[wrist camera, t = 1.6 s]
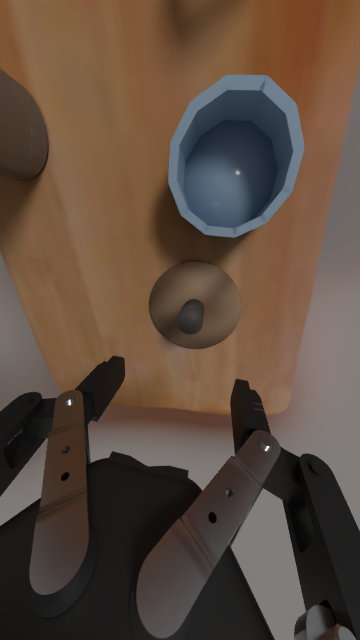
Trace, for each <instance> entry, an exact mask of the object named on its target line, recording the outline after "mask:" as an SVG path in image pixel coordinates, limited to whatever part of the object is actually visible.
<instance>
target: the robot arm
mask: <svg viewBox="0 0 360 640" xmlns="http://www.w3.org/2000/svg"><path fill="white" fill-rule="evenodd" d="M47 152H48V137H47V130H46V126H45V123H44V119H43V116H42V114H41V112H40V110H39V107H38V106H37V104H36V102H35V101H34V99H33V98H32V96H31V95H30V94H29V93H28V92H27V90H26V89H25V88H24V87H22V86H21V85H20V84H19V83H18V82H16V81H15V80H14V79H13V78H11V77H10V76H9V75H8V74H7V73H5V72H4V71H3V70H2V69H0V174H2V175H5V176H8V177H11V178H15V179H19V180H28V179H31V178H33V177H35V176H36V175H37V174H39V173H40V171H41V170H42V168H43V167H44V164H45V161H46V158H47ZM124 378H125V360H124V358H123V357H118V356H112V357H111V358H110V360H109V361H108V362H106V361H104V362H103V363H101V364H99V365H98V366H97V367H96V368H95V369H94V370H93V371H92V372H91V373H90V374H89V375H88V376H87V377H86V378H85V379H84V380H83V381H82V382H81V383H80V385H79V386H78V387H77V388H76V389H75V390H71V391H67V392H65V393H63V394H61V395H60V396H59V397H58V398H50V399H42V396H41V394H40V393H38V392H29V393H26V394H23V395H21V396H19V397H17V398H16V399H15V400H13V401H12V402H11V403H10V404H9V405H8V406H6V407H5V408H4V409H3V410H2V411H0V496H1V495H2V494H3V492H4V491H5V490H6V489H7V487H8V486H9V485H10V484H11V482H12V481H13V480H14V479H15V477H16V476H17V475H18V473H19V472H20V471H21V470H22V468H23V467H24V466H25V464H26V463H27V462H28V461H29V459H30V458H31V457H32V456H33V454H34V453H35V452H36V451H37V449H38V448H39V447H40V446H41V444H42V443H43V442H44V440H45V439H46V438H48V443H47V451H46V460H45V469H44V477H43V485H42V494H41V498H40V499H38V500H37V501H35V502H34V503H32V504H31V505H30V506H28V507H27V508H25V509H24V510H22V511H21V512H20V513H18V514H17V515H15V516H14V517H13V518H11V519H10V520H8V521H7V522H5V523H4V524H3V525H1V526H0V640H275V639H274V637H273V635H272V633H271V631H270V629H269V627H268V625H267V623H266V620H265V618H264V616H263V614H262V612H261V610H260V608H259V606H258V604H257V602H256V599H255V598H254V595H253V593H252V591H251V589H250V587H249V585H248V583H247V580H246V578H245V576H244V574H243V572H242V570H241V568H240V566H239V564H238V561H237V559H236V557H235V555H234V553H233V551H232V549H231V546H232V544H233V542H234V540H235V538H236V536H237V534H238V533H239V531H240V529H241V527H242V525H243V523H244V522H245V520H246V518H247V516H248V514H249V512H250V510H251V509H252V507H253V505H254V503H255V501H256V500H257V498H258V496H259V494H260V492H261V491H262V489H263V488H264V489H266V490H267V491H269V492H270V493H272V494H274V495H276V496H277V497H279V498H280V499H282V500H283V505H284V509H285V514H286V519H287V524H288V529H289V533H290V538H291V543H292V547H293V552H294V557H295V562H296V566H297V571H298V576H299V581H300V585H301V590H302V595H303V599H304V604H305V609H306V612H305V613H304V614H302V615H301V616H300V617H299V618H298V619H297V621H296V624H295V629H294V640H360V531H359V529H358V526H357V524H356V522H355V520H354V518H353V516H352V513H351V511H350V509H349V507H348V505H347V502H346V500H345V499H344V496H343V494H342V491H341V489H340V487H339V485H338V483H337V481H336V478H335V476H334V474H333V472H332V471H331V469H330V468H329V466H328V465H327V464H326V463H325V462H324V461H322V460H321V459H320V458H318V457H316V456H314V455H311V454H303V455H301V457H298V456H296V455H294V454H292V453H290V452H288V451H286V450H285V449H283V448H282V447H281V446H280V445H279V443H278V441H277V440H276V438H275V437H274V436H272V435H271V433H270V429H269V425H268V422H267V418H266V415H265V412H264V408H263V405H262V401H261V398H260V396H259V395H258V393H257V392H256V391H255V390H250V387H249V383H248V381H245V380H240V379H236V380H235V384H234V387H233V391H232V395H231V402H230V406H231V417H232V427H233V438H234V449H235V456H234V457H233V456H231V457H230V458H229V459H228V460H227V462H226V463H225V464H224V465H223V467H222V468H221V469H220V470H219V471H218V473H217V474H216V475H215V476H214V478H213V479H212V480H211V481H210V483H209V484H208V485H207V486H206V488H205V489H204V490H203V491H202V490H201V488H200V487H199V486H198V485H197V484H196V483H195V482H193V481H192V480H190V479H189V478H188V470H184V469H180V468H176V467H172V466H152V467H149V466H146V465H144V464H142V463H141V462H139V461H137V460H136V459H134V458H133V457H131V456H129V455H125V454H121V453H117V452H113V451H112V453H111V455H110V457H109V458H105V459H100V460H97V461H95V462H92V463H91V461H90V451H89V439H88V438H89V437H88V426H87V425H88V423H89V422H90V421H91V420H92V421H96V422H97V421H98V420H99V418H100V416H101V415H102V414H103V412H104V410H105V409H106V407H107V406H108V404H109V403H110V401H111V400H112V398H113V397H114V395H115V394H116V392H117V391H118V389H119V388H120V386H121V384H122V383H123V381H124ZM19 431H20V432H19ZM17 434H18V435H17ZM15 436H16V437H15ZM12 439H13V440H12ZM11 440H12V441H11ZM10 441H11V442H10ZM9 442H10V443H9ZM8 443H9V444H8ZM7 444H8V445H7Z"/></svg>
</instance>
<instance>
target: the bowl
mask: <svg viewBox="0 0 360 640" xmlns="http://www.w3.org/2000/svg"><path fill="white" fill-rule="evenodd" d="M266 76H267V75H227V76H224V77H223V78H222V79H220V80H219V81H218V82H216V83H215V84H213V85H212V86H211V87H209V88H208V89H207V90H205V91H204V92H203V93H201V94H200V95H198V96H197V97H196V98H194V99H193V100H192V101H191V102H190V104H189V106H188V108H187V110H186V112H185V114H184V116H183V118H182V120H181V122H180V124H179V126H178V128H177V130H176V132H175V134H174V136H173V138H172V140H171V142H170V158H169V175H168V184H169V186H170V189H171V191H172V194H173V196H174V199H175V202H176V204H177V207H178V209H179V212H180V214H181V216H182V217H184V218H185V219H186V220H187V221H189V222H190V223H191V224H192V225H194V226H195V227H196V228H197V229H198V230H200V231H201V232H202V233H203V234H205V235H206V236H214V237H223V238H235V237H238V236H240V235H242V234H244V233H246V232H248V231H251V230H253V229H255V228H257V227H259V226H261V225H264V224H266V223H267V222H268V221H269V219H270V218H271V217H272V216H273V215H274V213H275V212H276V211H277V210H278V208H279V207H280V206H281V205H282V204H283V202H284V201H285V200H286V199H287V198H288V196H289V195H290V194H291V193H292V191H293V188H294V184H295V181H296V177H297V174H298V170H299V167H300V163H301V159H302V156H303V152H304V149H305V147H304V141H303V136H302V130H301V125H300V120H299V114H298V109H297V104H296V103H295V102H294V101H293V100H292V99H291V98H290V97H289V96H288V95H287V94H286V93H285V92H284V91H283V90H282V89H281V88H280V87H279V86H278V85H277V84H276V83H275V82H274V81H273V80H272V79H270V78H269V77H268V76H267V77H266Z"/></svg>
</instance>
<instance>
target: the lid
mask: <svg viewBox="0 0 360 640" xmlns="http://www.w3.org/2000/svg"><path fill="white" fill-rule="evenodd" d="M150 311H151V315H152V319H153V321H154V323H155V325H156V327H157V328H158V330H159V331H160V332H161V333H162V334H163V335H164V336H165V337H166V338H167V339H169V340H170V341H172V342H173V343H175V344H177V345H180V346H183V347H187V348H206V347H211V346H213V345H216V344H218V343H220V342H221V341H223V340H224V339H226V338H227V337H228V336H229V335H230V334H231V333H232V332H233V330H234V329H235V327H236V325H237V323H238V321H239V318H240V314H241V298H240V294H239V291H238V289H237V287H236V285H235V283H234V282H233V280H232V279H231V278H230V277H229V275H227V274H226V273H225V272H224V271H223V270H221V269H220V268H218V267H216V266H214V265H212V264H209V263H205V262H198V261H192V262H185V263H181V264H178V265H175V266H174V267H172V268H170V269H169V270H167V271H166V272H164V273H163V274H162V275H161V276H160V278H159V279H158V280H157V282H156V283H155V285H154V287H153V290H152V292H151V297H150Z"/></svg>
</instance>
